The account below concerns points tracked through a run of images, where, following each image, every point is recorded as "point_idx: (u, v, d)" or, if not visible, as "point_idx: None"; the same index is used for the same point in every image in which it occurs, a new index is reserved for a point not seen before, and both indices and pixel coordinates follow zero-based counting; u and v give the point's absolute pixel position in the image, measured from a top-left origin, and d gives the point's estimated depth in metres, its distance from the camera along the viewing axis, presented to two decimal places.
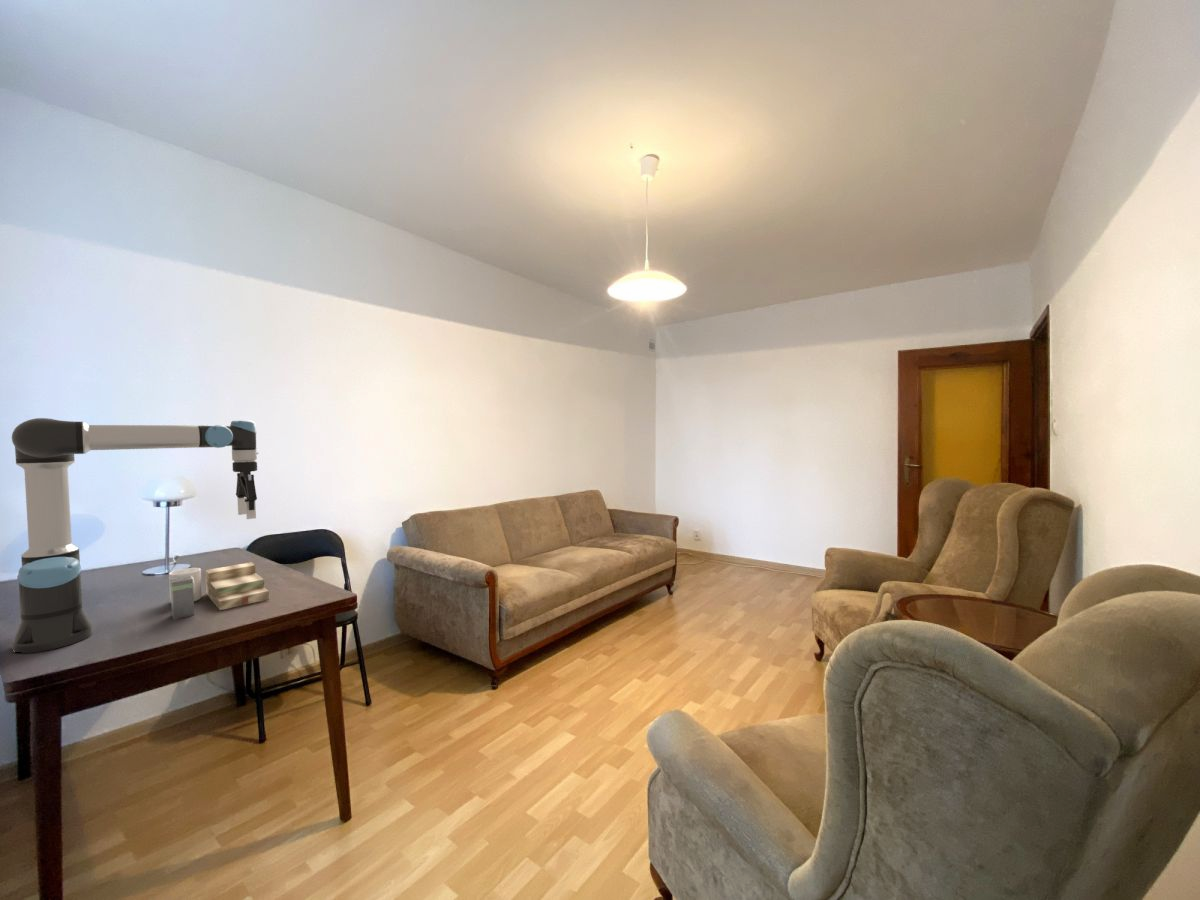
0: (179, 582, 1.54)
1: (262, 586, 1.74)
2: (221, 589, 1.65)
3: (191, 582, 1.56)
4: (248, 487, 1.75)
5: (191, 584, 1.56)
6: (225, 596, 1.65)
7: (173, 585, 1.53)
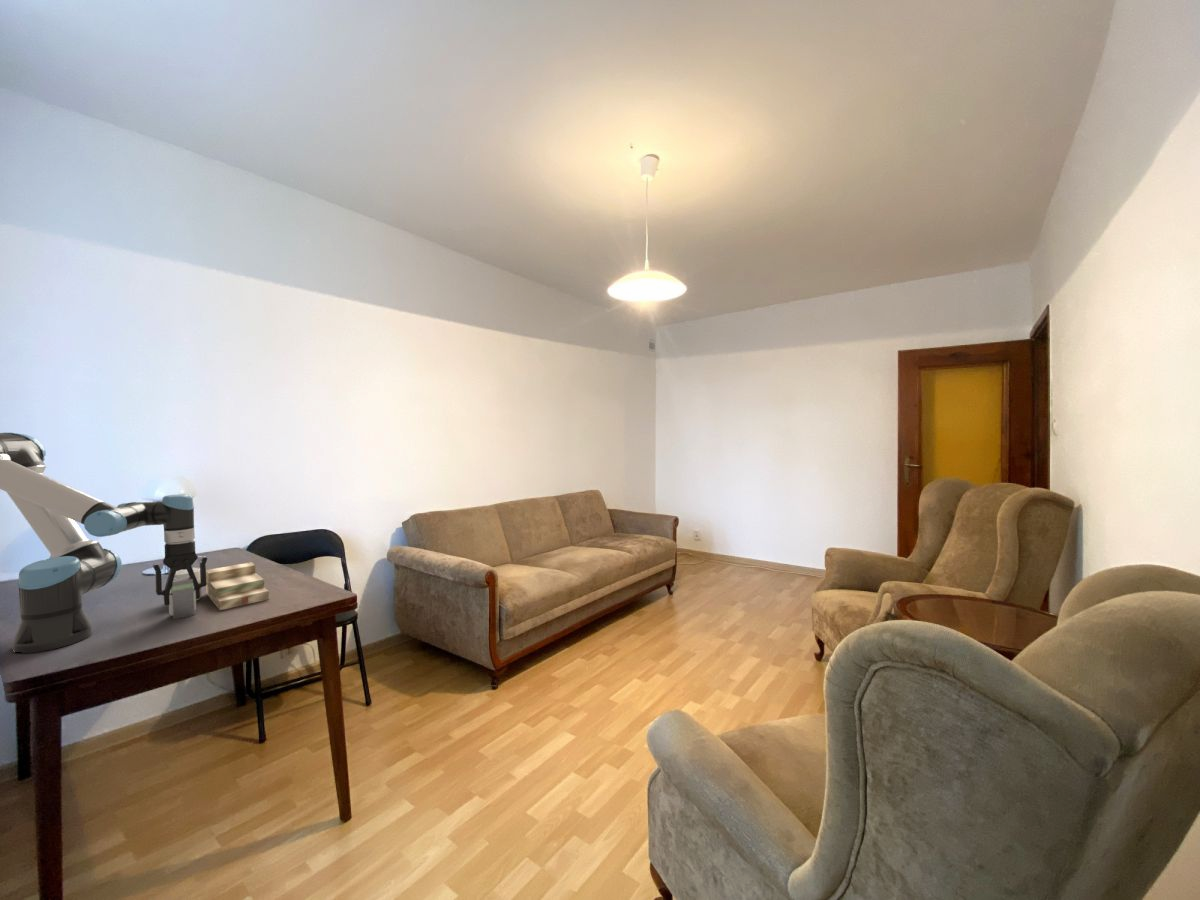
0: (179, 582, 1.54)
1: (262, 586, 1.74)
2: (221, 589, 1.65)
3: (191, 582, 1.56)
4: None
5: (191, 584, 1.56)
6: (225, 596, 1.65)
7: (173, 585, 1.53)
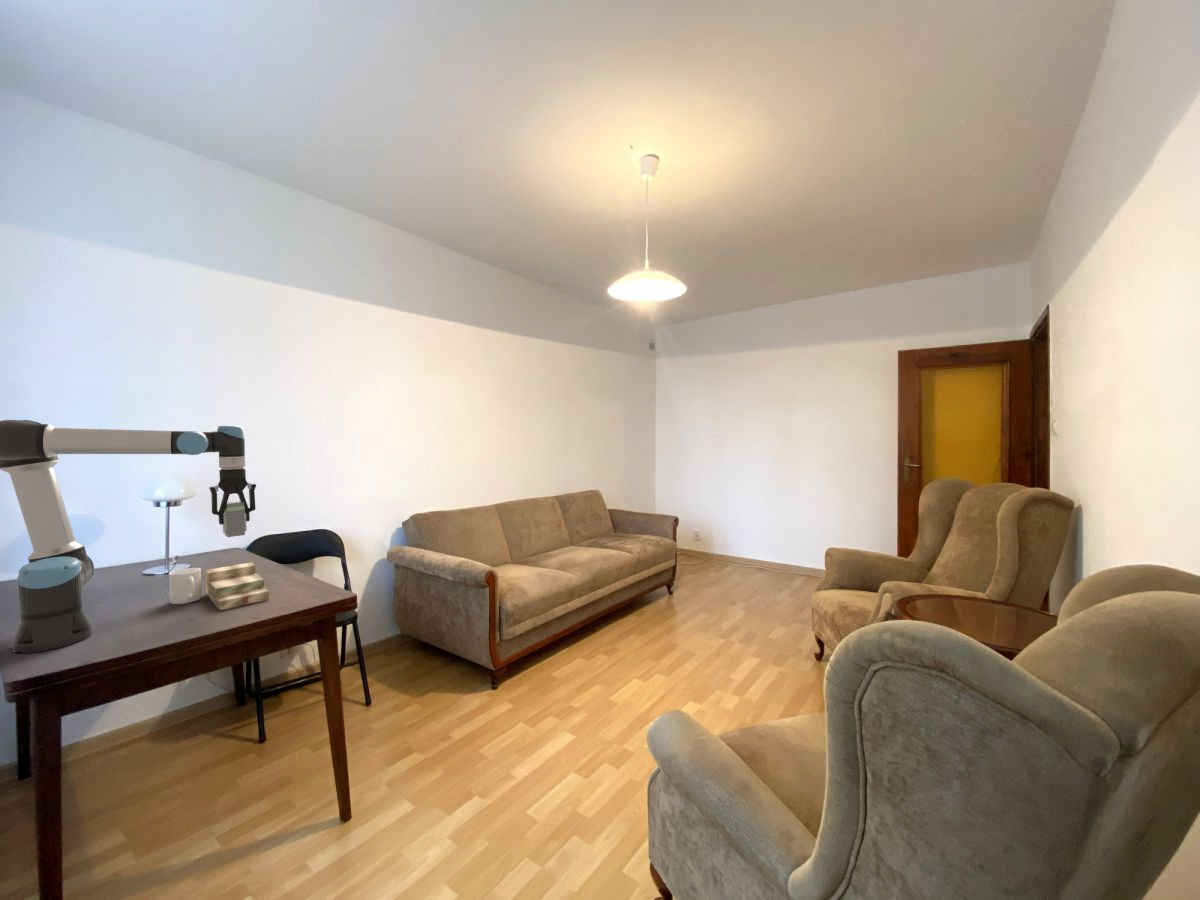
0: (232, 504, 1.70)
1: (262, 586, 1.74)
2: (221, 589, 1.65)
3: (242, 505, 1.72)
4: None
5: (242, 507, 1.72)
6: (225, 596, 1.65)
7: (227, 506, 1.69)
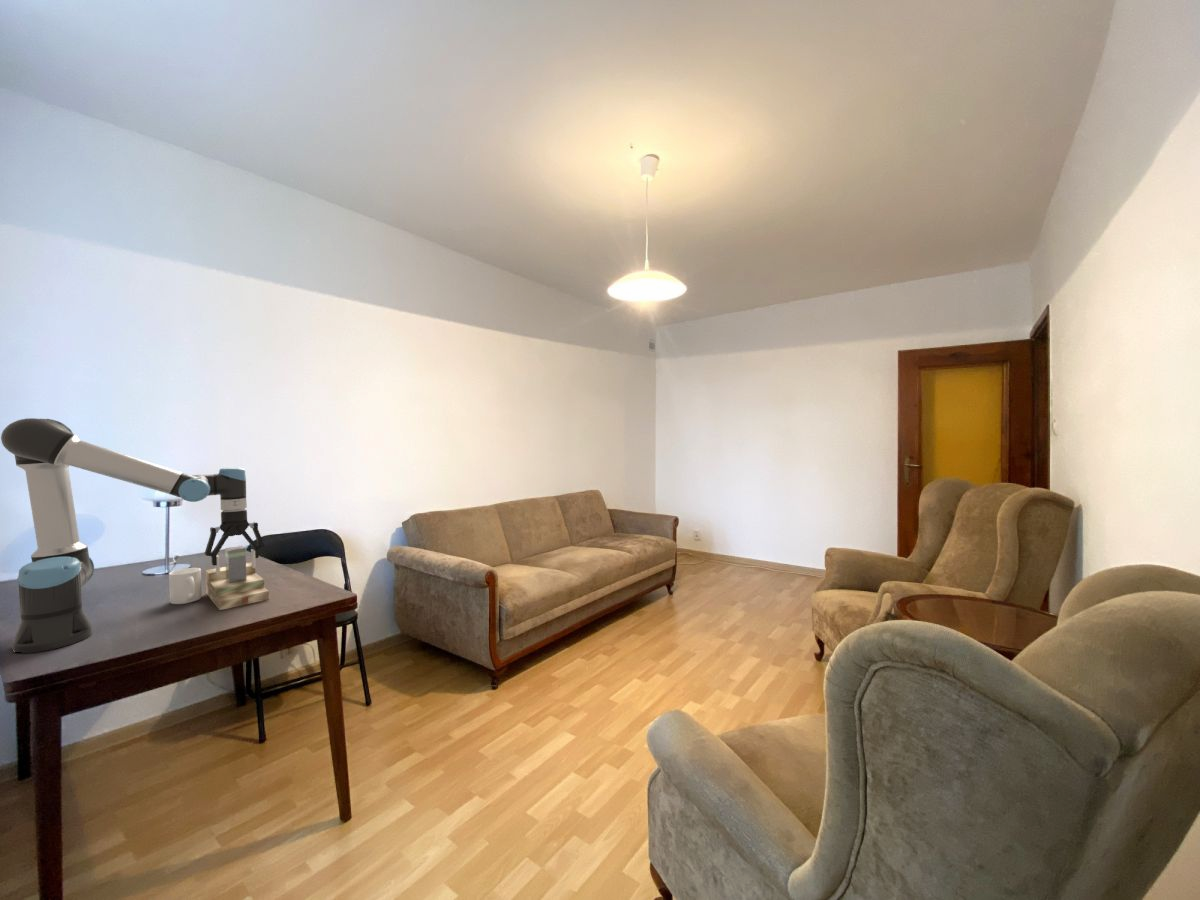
0: (234, 550, 1.71)
1: (262, 586, 1.74)
2: (221, 589, 1.65)
3: (244, 550, 1.73)
4: (208, 541, 1.68)
5: (244, 552, 1.73)
6: (225, 596, 1.65)
7: (229, 553, 1.70)
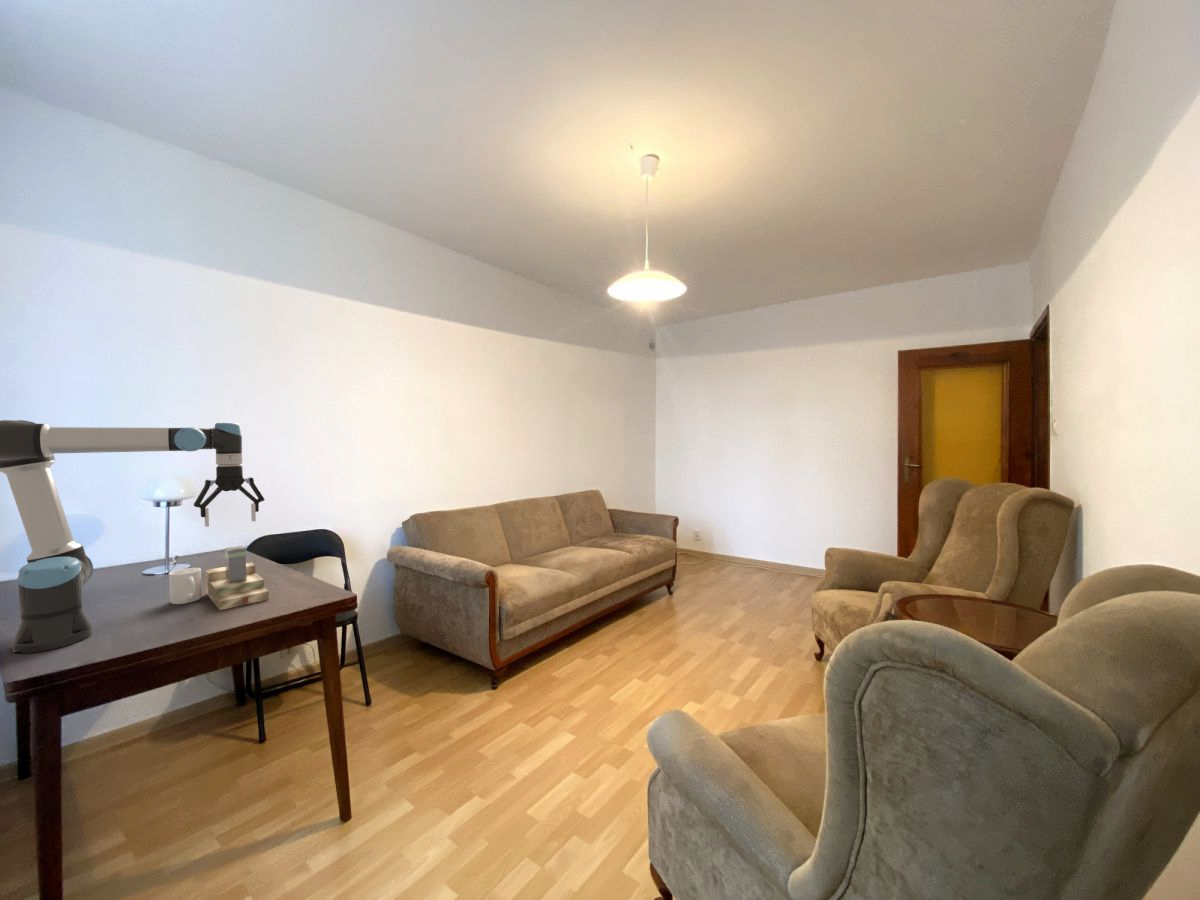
0: (234, 550, 1.71)
1: (262, 586, 1.74)
2: (221, 589, 1.65)
3: (244, 550, 1.73)
4: None
5: (244, 552, 1.73)
6: (225, 596, 1.65)
7: (229, 553, 1.70)
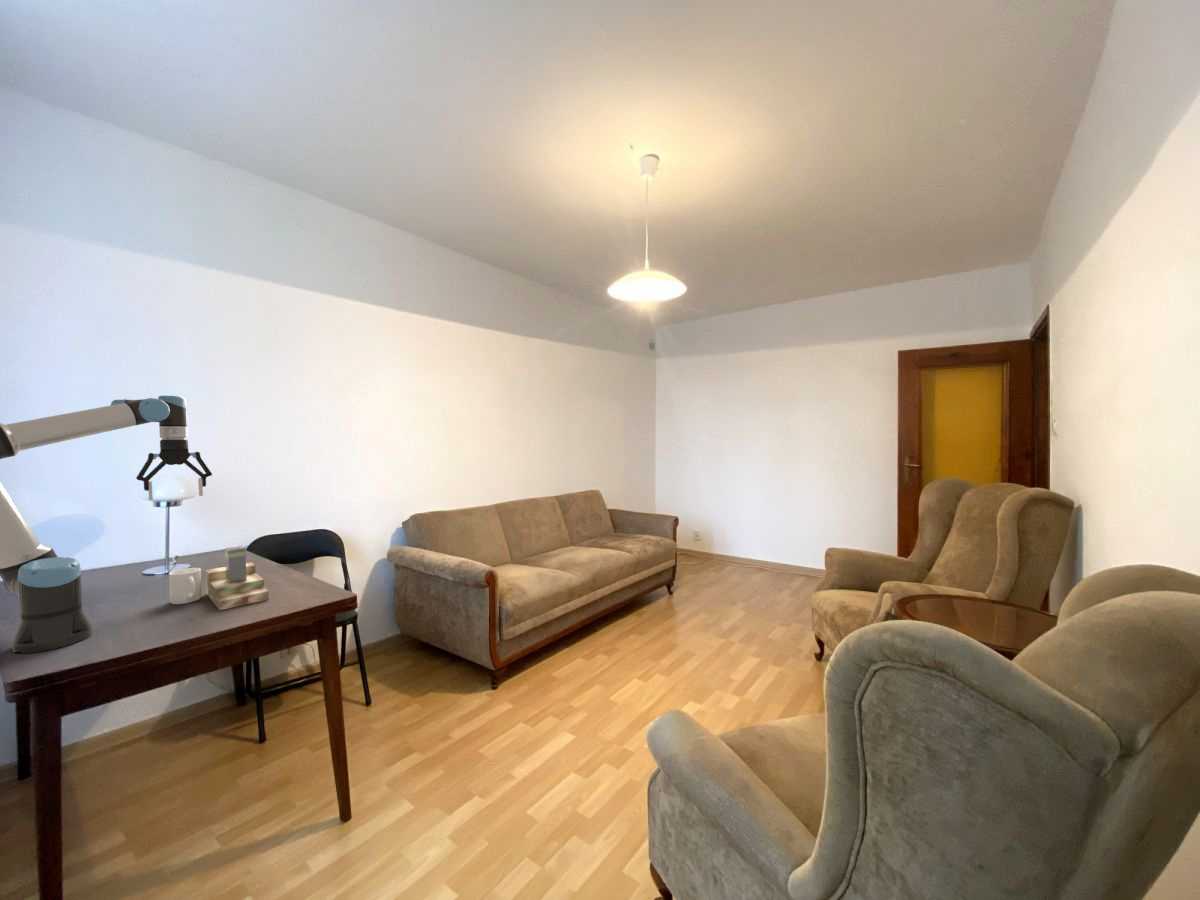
0: (234, 550, 1.71)
1: (262, 586, 1.74)
2: (221, 589, 1.65)
3: (244, 550, 1.73)
4: (143, 466, 1.65)
5: (244, 552, 1.73)
6: (225, 596, 1.65)
7: (229, 553, 1.70)
